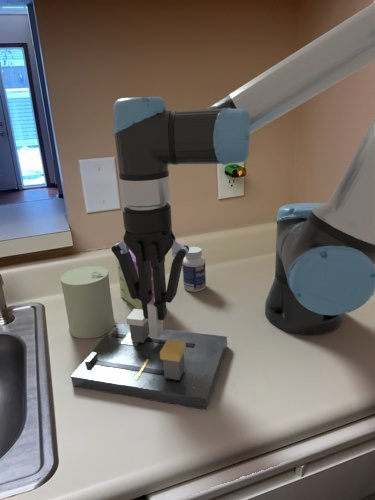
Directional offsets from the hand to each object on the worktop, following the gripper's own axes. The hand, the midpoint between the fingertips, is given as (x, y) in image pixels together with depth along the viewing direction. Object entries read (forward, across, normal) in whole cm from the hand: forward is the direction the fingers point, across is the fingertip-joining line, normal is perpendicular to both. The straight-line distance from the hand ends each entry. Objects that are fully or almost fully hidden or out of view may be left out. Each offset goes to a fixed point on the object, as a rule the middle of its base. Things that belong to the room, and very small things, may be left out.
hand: (156, 333), depth 68 cm
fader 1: (+1, +3, 0) cm, 3 cm away
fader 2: (+1, -6, +8) cm, 10 cm away
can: (+4, +16, -5) cm, 17 cm away
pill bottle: (+4, 0, -26) cm, 26 cm away
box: (+4, +10, -17) cm, 20 cm away
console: (+4, -1, +4) cm, 5 cm away
